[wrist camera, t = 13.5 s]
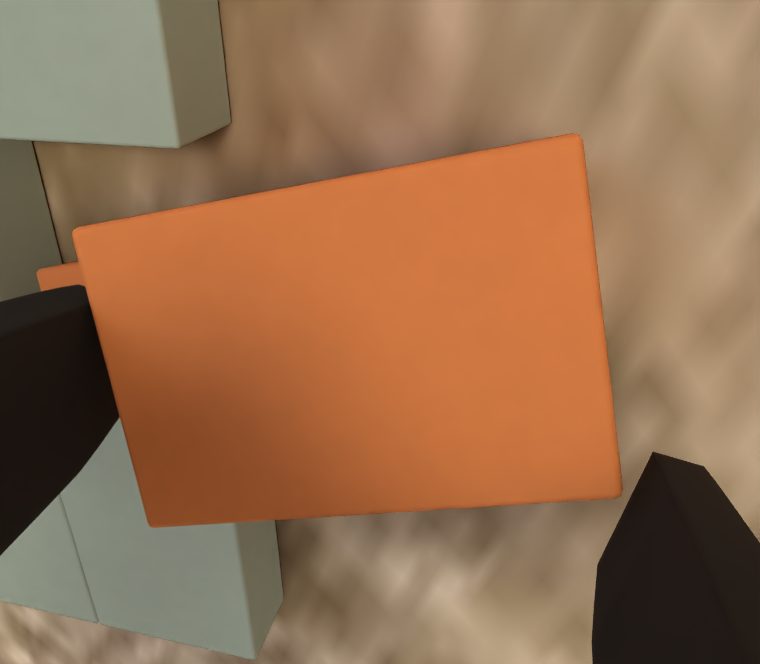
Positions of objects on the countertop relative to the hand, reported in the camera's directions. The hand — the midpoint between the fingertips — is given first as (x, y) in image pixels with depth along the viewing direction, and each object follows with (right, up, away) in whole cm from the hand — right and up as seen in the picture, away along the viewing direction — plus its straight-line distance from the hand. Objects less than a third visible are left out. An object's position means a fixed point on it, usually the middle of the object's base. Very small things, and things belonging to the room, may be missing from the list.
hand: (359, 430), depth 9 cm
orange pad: (-1, +2, +4) cm, 4 cm away
